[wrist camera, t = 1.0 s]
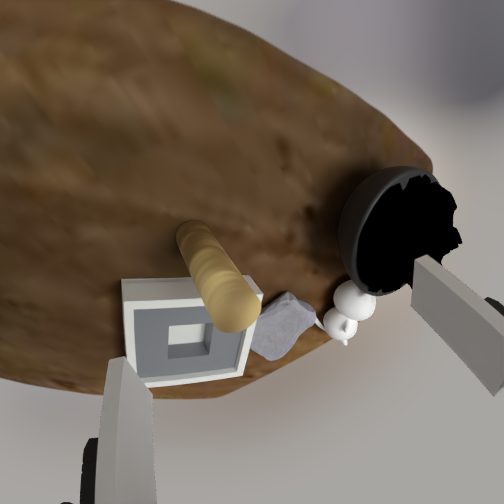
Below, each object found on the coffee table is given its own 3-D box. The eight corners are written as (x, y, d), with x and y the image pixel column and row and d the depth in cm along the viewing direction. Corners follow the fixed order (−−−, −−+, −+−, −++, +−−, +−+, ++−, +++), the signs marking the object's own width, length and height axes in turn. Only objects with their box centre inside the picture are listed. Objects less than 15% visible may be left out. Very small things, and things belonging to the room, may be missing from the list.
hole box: (126, 365, 44) (130, 388, 40) (121, 278, 37) (123, 301, 33) (231, 354, 52) (242, 375, 48) (248, 275, 45) (263, 294, 41)
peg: (174, 252, 39) (209, 335, 26) (177, 219, 37) (215, 293, 24) (206, 251, 41) (255, 330, 28) (211, 220, 39) (266, 289, 26)
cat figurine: (353, 356, 51) (390, 302, 47) (300, 336, 51) (335, 277, 47) (347, 331, 59) (378, 281, 55) (300, 311, 59) (329, 258, 55)
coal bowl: (344, 130, 40) (455, 164, 25) (414, 177, 50) (499, 216, 35) (290, 254, 47) (371, 332, 31) (370, 272, 57) (441, 329, 42)
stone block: (227, 329, 51) (268, 353, 55) (234, 345, 47) (277, 369, 51) (274, 276, 50) (312, 305, 55) (285, 288, 46) (324, 318, 50)
